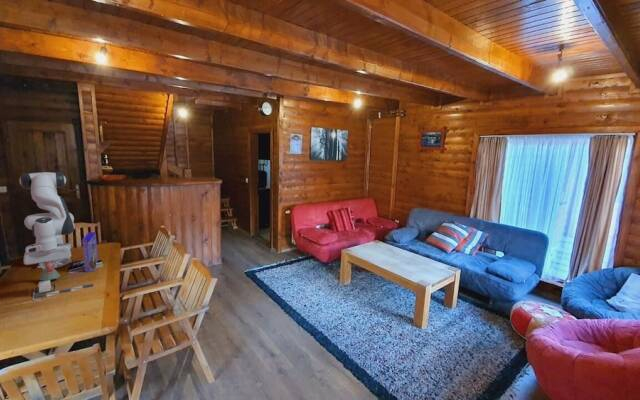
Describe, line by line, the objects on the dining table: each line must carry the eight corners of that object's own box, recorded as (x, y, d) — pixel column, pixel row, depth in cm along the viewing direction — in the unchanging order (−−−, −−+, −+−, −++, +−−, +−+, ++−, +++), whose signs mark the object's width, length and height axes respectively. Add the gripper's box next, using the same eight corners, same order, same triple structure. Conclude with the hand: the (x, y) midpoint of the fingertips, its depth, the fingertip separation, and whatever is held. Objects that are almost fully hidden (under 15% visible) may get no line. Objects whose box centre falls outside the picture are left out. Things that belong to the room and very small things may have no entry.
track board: (33, 297, 168) (33, 296, 168) (93, 284, 186) (93, 283, 186) (32, 300, 164) (32, 299, 164) (94, 287, 183) (94, 286, 182)
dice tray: (34, 289, 175) (34, 287, 175) (56, 285, 182) (56, 283, 182) (33, 296, 168) (32, 294, 168) (56, 291, 175) (56, 289, 174)
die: (39, 289, 175) (38, 282, 174) (51, 287, 178) (50, 280, 178) (39, 293, 172) (38, 285, 171) (50, 290, 175) (49, 283, 174)
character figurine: (29, 287, 178) (25, 259, 175) (33, 281, 185) (29, 255, 182) (63, 281, 187) (60, 255, 184) (65, 276, 194) (62, 251, 190)
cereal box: (93, 271, 204) (90, 239, 199) (85, 272, 201) (82, 239, 197) (98, 262, 218) (95, 231, 214) (90, 263, 216) (87, 232, 212)
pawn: (45, 272, 169) (43, 258, 167) (54, 270, 172) (53, 256, 170) (45, 274, 166) (43, 260, 165) (54, 273, 169) (53, 258, 167)
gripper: (70, 241, 175) (72, 262, 178) (22, 247, 162) (25, 270, 164) (70, 243, 170) (73, 265, 173) (21, 250, 157) (24, 274, 160)
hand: (49, 268), depth 168 cm, fingers closed on pawn, 3 cm apart
